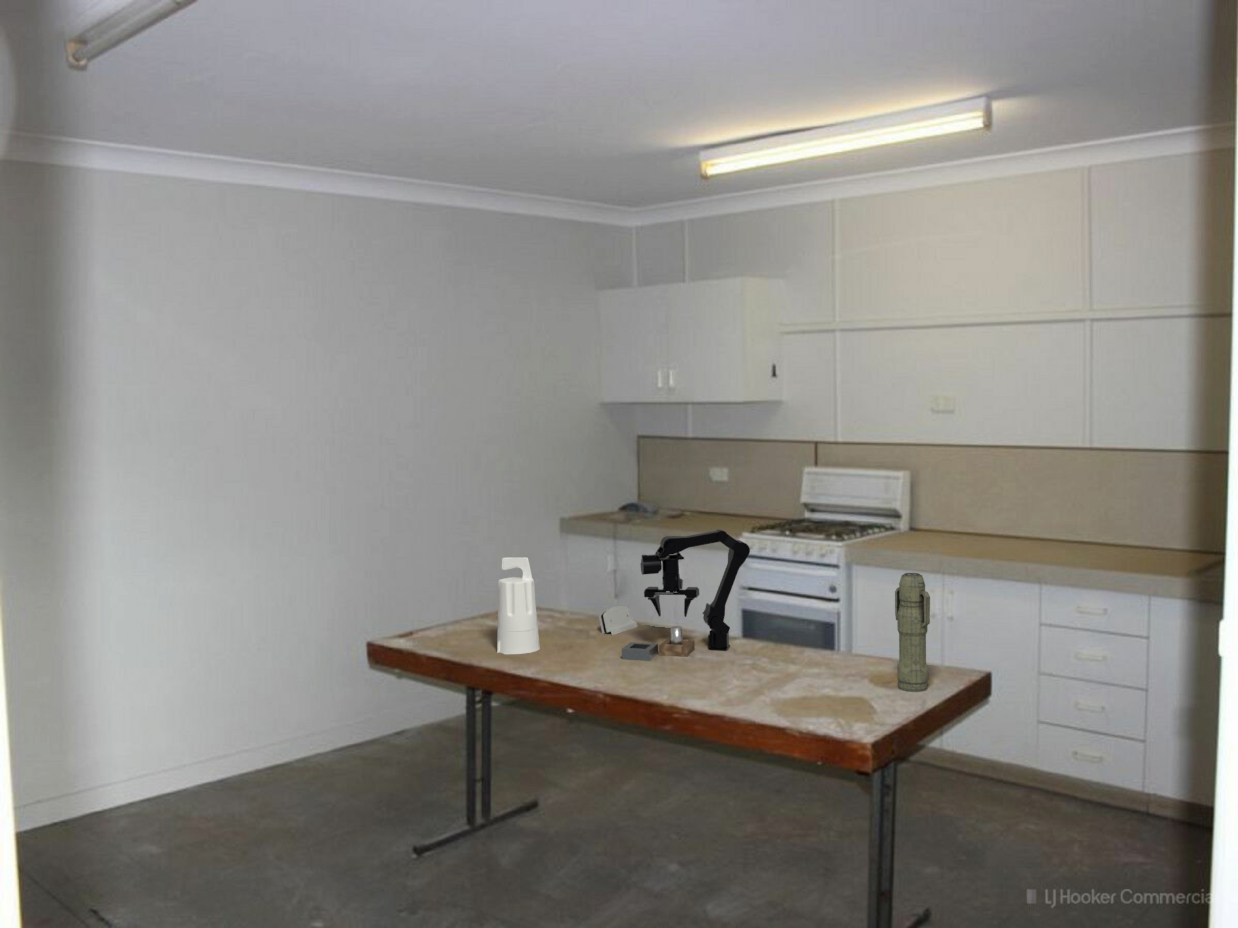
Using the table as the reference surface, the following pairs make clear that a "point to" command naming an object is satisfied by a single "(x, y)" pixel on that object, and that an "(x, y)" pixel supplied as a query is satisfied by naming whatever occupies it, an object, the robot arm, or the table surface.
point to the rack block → (640, 651)
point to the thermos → (912, 632)
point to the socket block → (676, 648)
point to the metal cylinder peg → (676, 635)
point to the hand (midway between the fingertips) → (672, 616)
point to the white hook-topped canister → (517, 610)
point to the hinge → (616, 620)
